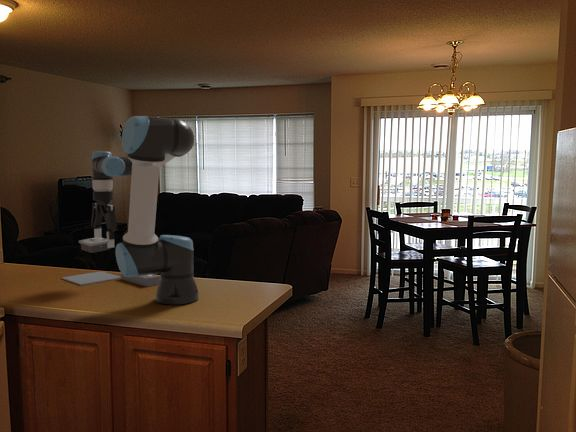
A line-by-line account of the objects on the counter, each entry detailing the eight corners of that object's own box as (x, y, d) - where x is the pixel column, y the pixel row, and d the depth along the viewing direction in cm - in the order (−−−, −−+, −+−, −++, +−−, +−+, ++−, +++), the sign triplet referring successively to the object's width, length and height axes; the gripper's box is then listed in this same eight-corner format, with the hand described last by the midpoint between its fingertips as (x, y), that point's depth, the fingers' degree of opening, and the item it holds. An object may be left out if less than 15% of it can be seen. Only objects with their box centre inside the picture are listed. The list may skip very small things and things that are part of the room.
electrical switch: (112, 240, 200) (91, 239, 193) (111, 253, 201) (89, 253, 193) (99, 237, 206) (78, 236, 199) (97, 249, 206) (76, 249, 199)
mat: (122, 278, 216) (122, 277, 216) (81, 285, 203) (81, 284, 203) (101, 272, 228) (101, 271, 228) (61, 278, 215) (61, 277, 215)
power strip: (159, 284, 206) (159, 274, 205) (146, 287, 201) (146, 277, 201) (133, 277, 219) (133, 267, 219) (121, 279, 215) (120, 269, 214)
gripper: (126, 191, 196) (127, 248, 198) (98, 188, 211) (99, 241, 213) (107, 192, 190) (109, 250, 193) (80, 189, 205) (82, 243, 208)
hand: (104, 246), depth 203 cm, fingers closed on electrical switch, 10 cm apart
